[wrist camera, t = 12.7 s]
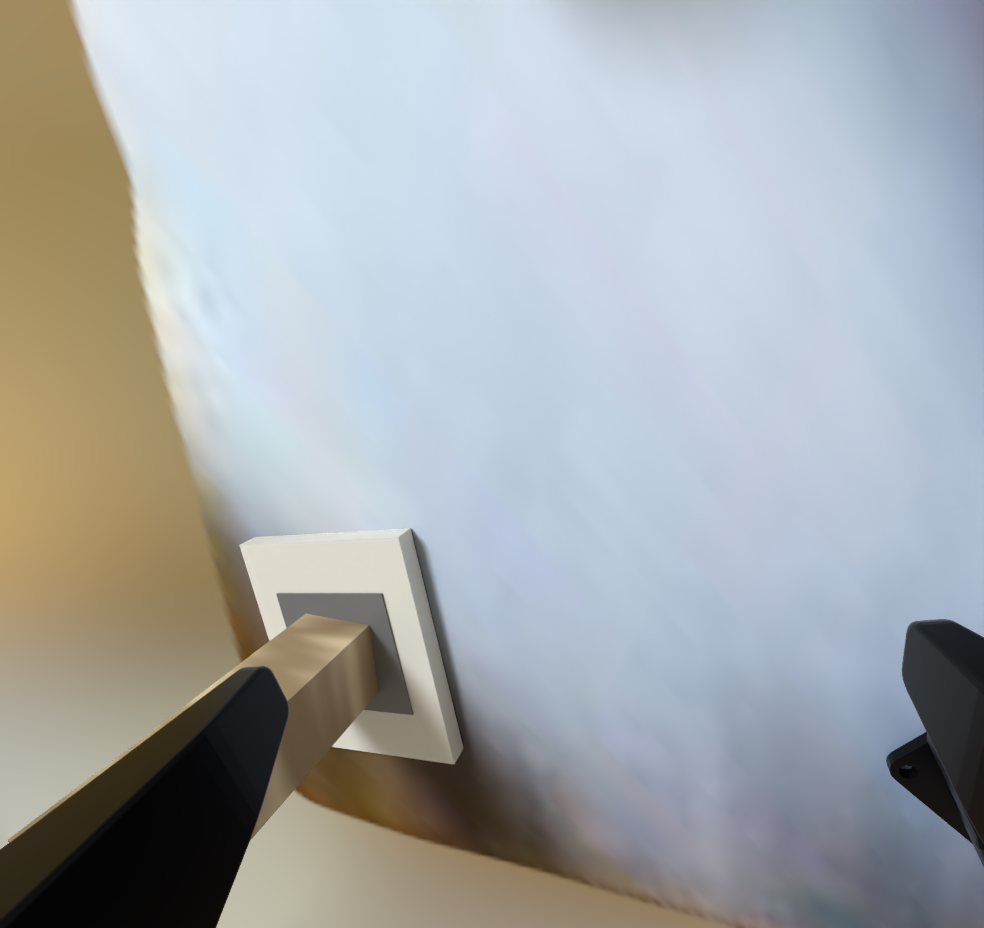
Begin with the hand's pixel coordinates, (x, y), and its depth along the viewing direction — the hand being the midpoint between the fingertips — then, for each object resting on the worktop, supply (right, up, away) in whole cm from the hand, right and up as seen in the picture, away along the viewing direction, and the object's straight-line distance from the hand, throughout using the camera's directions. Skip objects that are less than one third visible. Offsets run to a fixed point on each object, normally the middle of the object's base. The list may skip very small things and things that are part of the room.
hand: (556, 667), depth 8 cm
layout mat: (-7, -5, +18) cm, 21 cm away
